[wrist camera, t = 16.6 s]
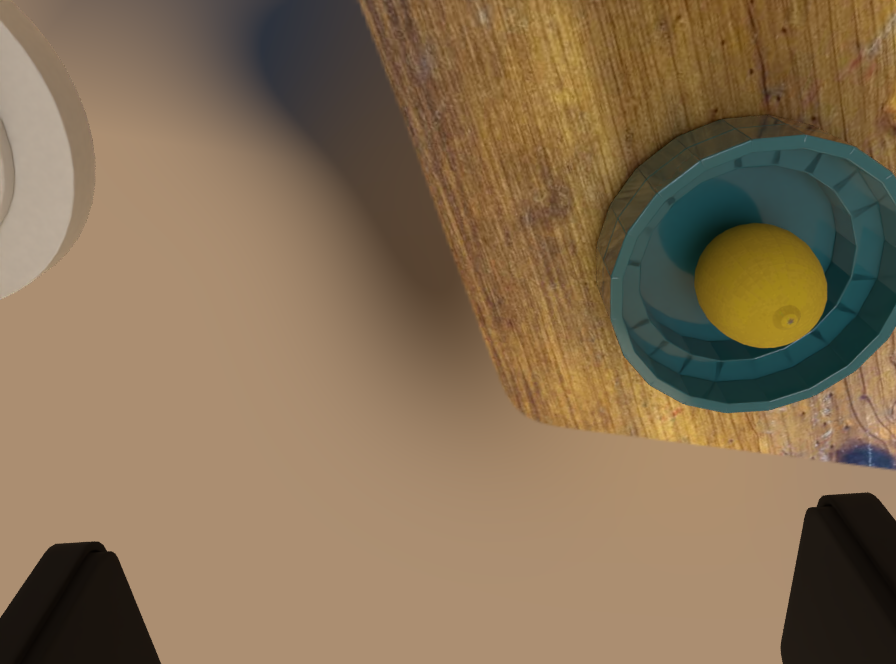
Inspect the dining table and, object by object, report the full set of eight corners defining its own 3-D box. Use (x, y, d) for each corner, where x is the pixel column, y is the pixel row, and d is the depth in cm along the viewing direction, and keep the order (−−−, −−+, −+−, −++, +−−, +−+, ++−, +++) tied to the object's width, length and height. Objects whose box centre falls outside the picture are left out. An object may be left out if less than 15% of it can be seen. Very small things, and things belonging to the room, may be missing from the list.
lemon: (723, 319, 40) (777, 398, 32) (655, 257, 38) (697, 326, 31) (806, 248, 38) (884, 316, 30) (739, 180, 36) (804, 235, 29)
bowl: (595, 372, 42) (609, 420, 38) (594, 127, 36) (611, 151, 31) (844, 355, 41) (889, 403, 37) (890, 100, 35) (952, 121, 30)
